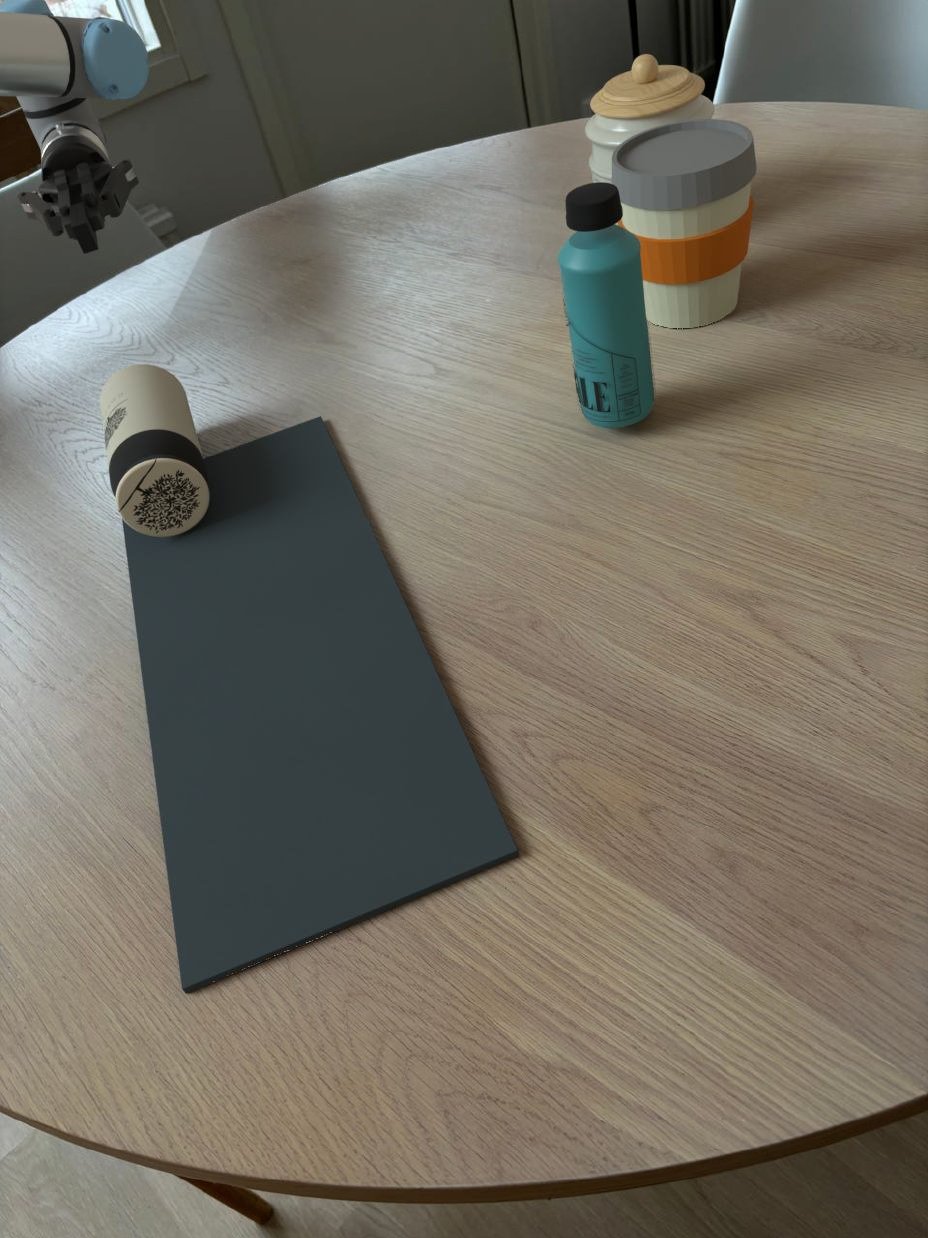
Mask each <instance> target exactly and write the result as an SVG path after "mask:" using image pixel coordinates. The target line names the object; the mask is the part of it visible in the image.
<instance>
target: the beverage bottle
mask: <svg viewBox="0 0 928 1238" xmlns="http://www.w3.org/2000/svg"><path fill="white" fill-rule="evenodd" d="M564 203H565V223H566V226H567V228H568V229H569V230H571V231H574V233H572V235H570V237H569V238H567V240H566V241H565V242H564V244H563V245H562V247H561V248H560V250H559V252H558V254H557V263H558V266H559V270H560V276H561V283H562V291H563V297H562V301H563V309H564V314H565V318H566V320H565V321H566V322H567V323H566V324H565V326H566V327H568V333H569V340H570V344H571V347H570V349H571V353H572V358H573V365H572V368H573V376H574V385H575V391H576V394H577V398H578V403H577V404H578V407H579V409H580V413H581V414H582V415H583V417H584V419H585V420H586V421H587V422H588V423H589V424H591V425H593V426H596V427H600V428H606V429H615V428H623V427H628V426H631V425H634V424H637V423H639V422H640V421H642V420H643V419H645V418H646V417H648V416H649V415H650V413H651V412H652V411H653V408H654V404H655V402H656V398H655V393H657V391H656V388H657V387H656V379H655V376H654V374H655V371H654V368H653V365H652V362H654V359H653V357H652V355H651V351H653V350H652V346H653V345H652V343H650V340H652V339H651V336H650V334H649V329H650V326H649V325H650V322H648V320H647V319H646V318H647V317H646V310H645V299H644V288H643V277H642V266H641V255H640V251H641V244H640V241H639V239H638V238H637V237H636V236H635V235H634V234H632V233H631V232H629V231H628V230H626V229H625V228H623V227H621V226H618V225H615V224H616V223H617V222H619V221H620V220H621V219H622V217H623V210H622V205H621V201H620V196H619V190H618V188H617V187H616V186H615V185H613V184H610V183H604V182H598V183H593V182H591V183H590V182H589V183H586V184H582V185H580V186H578V187H575V188H573V189H572V190H570V191H569V192H568V193H567V194H566V196H565V200H564Z"/></svg>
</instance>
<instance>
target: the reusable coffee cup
mask: <svg viewBox="0 0 928 1238" xmlns="http://www.w3.org/2000/svg"><path fill="white" fill-rule="evenodd" d="M757 167H758V166H757V160H756V149H755V141H754V135H753V132H752V130H751V129H749V128H748V127H747V126H746V125H743V124H742V123H739V122H735V121H733V120H727V119H721V118H720V119H719V118H718V119H717V118H711V119H695V120H686V121H679V122H674V123H669V124H665V125H661V126H657V127H654V128H651V129H648V130H645V131H643V132H641V133H638V134H636V135H634V136H632V137H630V138H629V139H627V140H625V141H624V142H623V143H621V144H620V145H619V146H618V147H617V148H616V149H615V151H614V152H613V155H612V184H613V185H615V186H616V187H617V188H618V190H619V196H620V201H621V205H622V210H623V217H622V219H621V220H620V221H619V222H618V226H621V227H623V228H625V229H626V230H628V231H629V232H631V233H632V234H634V235H635V236H636V237H637V238H638V239H639V241H640V244H641V251H640V255H641V266H642V277H643V288H644V299H645V310H646V317H647V318H646V320H647V322H649V321H650V322H651V323H650V322H649V323H650V324H652V323H653V324H652V325H654V324H655V325H654V326H656V325H659V326H658V327H660V326H664V327H668V328H667V329H669V327H670V328H677V329H676V330H679V329H678V328H682V329H681V330H684V329H683V328H692V327H698V328H700V327H699V326H701V325H702V326H703V325H706V326H709V325H708V324H710V325H712V324H714V323H713V322H715V323H717V322H716V321H718V320H719V321H721V320H723V319H725V318H726V317H727V316H726V315H728V314H729V313H730V312H731V311H732V310H733V309H734V308H735V309H736V307H737V305H738V298H739V290H740V281H741V273H742V266H743V261H744V260H745V259H746V258H747V255H748V251H749V245H750V238H751V237H750V236H751V227H752V221H753V211H754V204H755V203H754V202H755V201H754V198H753V196H752V195H751V189H752V181H753V179H754V178H755V177H756V175H757V169H758V168H757ZM736 304H737V305H736ZM735 306H736V307H735ZM735 309H734V310H735ZM734 310H733V311H734ZM733 311H732V312H733ZM732 312H731V313H732ZM731 313H730V314H731ZM730 314H729V315H730ZM729 315H728V316H729ZM725 316H726V317H725ZM724 317H725V318H724ZM722 318H723V319H722ZM720 319H721V320H720ZM719 321H718V322H719ZM711 323H712V324H711ZM703 327H704V326H703ZM692 329H693V328H692Z"/></svg>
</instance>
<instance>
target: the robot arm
mask: <svg viewBox="0 0 928 1238" xmlns="http://www.w3.org/2000/svg"><path fill="white" fill-rule="evenodd" d="M149 74H150V60H149V53H148V50H147V46H146V44H145V43H144V40H143V39H142V37H141V36H140V34H139V33H138V31H137V30H135V28H133V27H132V26H131V25H130V24H128V23H127V22H124V20H123V21H122V20H120V19H114V18H109V17H106V16H103V17H102V16H97V17H94V18H86V17H75V16H74V17H72V16H60V15H55V14H54V13H53V12H52V11H51V9H50V7H49V5H48V3H47V1H46V0H4V1H1V2H0V97H16V99H17V101H18V103H19V105H20V107H21V109H22V112H23V115H24V116H25V119H26V121H27V123H28V125H29V128H30V130H31V132H32V134H33V136H34V138H35V140H36V142H37V145H38V147H39V149H40V160H41V161H40V163H41V164H40V165H41V167H40V168H41V169H40V170H41V181H42V183H41V184H40V185H39V186H38V191H37V190H33V191H32V192H30V191H22V192H20V193H19V194H17V198H18V200H19V203H20V205H21V206H22V208H23V210H24V212H25V214H26V217H27V218H28V219H29V220H35V221H38V223H39V224H41V225H42V227H44V228H45V229H46V230H47V231H48V233H49V234H50V235H52V237H60V236H61V235H63V234H64V233H65V234H66V236H67V238H68V239H69V240H73V241H77V242H78V244H79V247H80V249H81V251H82V253H83V255H86V254H89V253H92V252H95V251H98V250H99V243H98V237H97V232H98V231H102V230H103V229H105V227H106V225H105V222H106V217H107V216H109V218H112V219H114V218H118V217H120V216H121V215H122V213H123V211H124V209H125V206H126V204H127V201H128V199H129V196H130V195H131V192H132V190H133V189H134V188H135V187H136V186H137V185H138V184H140V181H139V178H138V176H137V173H136V171H135V169H134V166H133V164H132V161H131V160H130V159H123V160H121V161H120V162H119V163H117V164H115V165H112V164H111V161H110V157H109V152H108V146H107V144H108V143H107V142H108V141H107V137H106V135H105V131H104V130H103V129H104V128H103V127H102V124H101V123H100V121H99V120H98V119H97V117H96V115H95V113H94V111H93V108H92V106H91V103H90V101H89V99H102V100H103V99H104V100H107V101H119V100H127V99H130V98H134V97H136V96H137V95H138V94H139V93H140V92H141V91H142V90H143V89H144V87H145V86H146V84H147V81H148V78H149ZM53 207H58V210H59V211H56V212H55V210H54V208H53Z"/></svg>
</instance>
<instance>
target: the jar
mask: <svg viewBox="0 0 928 1238" xmlns="http://www.w3.org/2000/svg"><path fill="white" fill-rule="evenodd" d="M705 87H706V84H705V80H704V79H703V78H702V77H701V76H700V75H698V74H695V73H693V72H691V71H689V70H688V69H687V68H686V67H683V66H681V65H673V64H659V63H658V60H657V58H655V57H654V55H652V54H648V53H643V54H641V55H638V56H637V57H636V58H635V59H634V61H633V63H632V65H631V70H629V71H625V72H623V73H620V74H617V75H616V76H614V77H612V78H610V79H609V80H608V81H607V82H606V83H605V84H604V86H603V87H602V88H601V89H600V90H598V91H597V92H596V93H595V94H594V96H593V97H591V100H590V104H589V105H590V109H591V110H592V112H593V113H594V114H593V115H592V116H591V117H590V118H589V119H588V121H587V122H586V123H585V127H584V134H585V136H586V137H587V139H588V140H589V141H591V154H590V156H589V158H588V166H589V169H590V172H591V179H592V183H598V182H604V183H610V184H612V155H613V152H614V151H615V149H616V148H617V147H618V146H619V145H620V144H621V143H623V142H624V141H625V140H627V139H629V138H630V137H632V136H634V135H636V134H638V133H641V132H643V131H645V130H648V129H651V128H654V127H657V126H661V125H665V124H669V123H674V122H679V121H686V120H695V119H713V116H714V114H715V105H714V102H712V100H711V99H709V97H706V96H705V95H703V92H704V90H705ZM615 225H618V222H617V223H616V224H615Z"/></svg>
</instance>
